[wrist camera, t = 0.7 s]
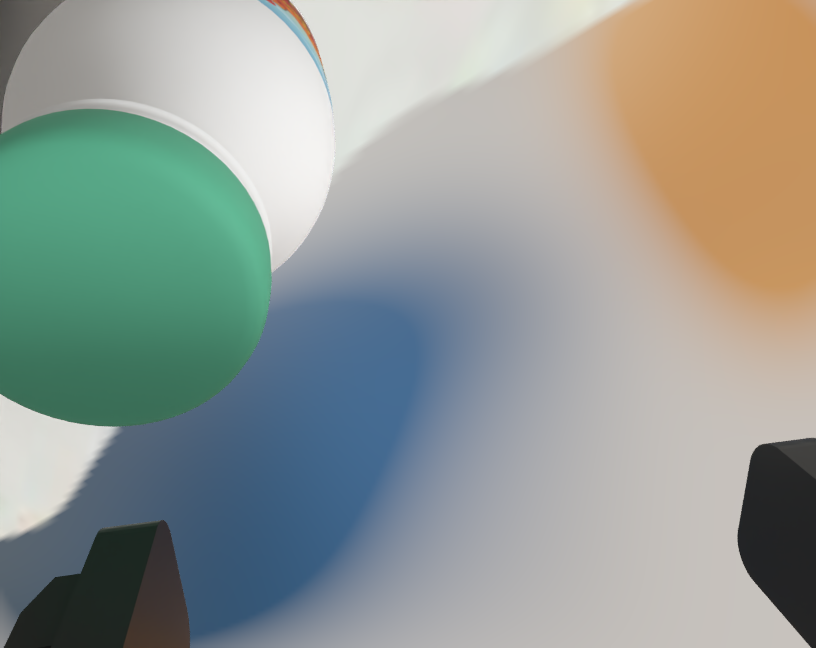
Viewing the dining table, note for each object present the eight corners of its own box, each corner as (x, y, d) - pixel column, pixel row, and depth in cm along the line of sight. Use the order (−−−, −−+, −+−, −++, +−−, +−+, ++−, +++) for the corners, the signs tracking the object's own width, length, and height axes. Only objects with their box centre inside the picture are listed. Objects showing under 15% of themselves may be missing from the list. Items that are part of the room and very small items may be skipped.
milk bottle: (351, 122, 28) (453, 400, 11) (183, 196, 29) (26, 579, 11) (263, -80, 24) (208, -139, 7) (71, 10, 25) (-424, 160, 8)
